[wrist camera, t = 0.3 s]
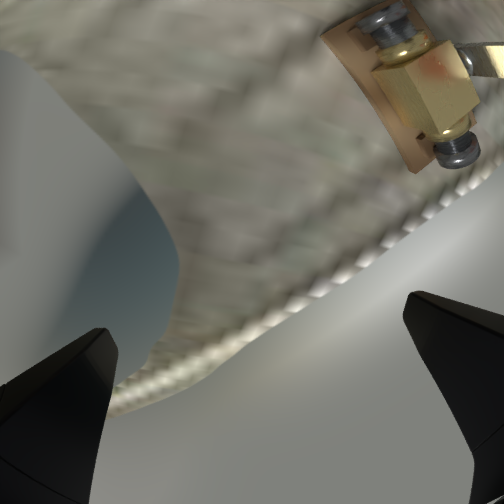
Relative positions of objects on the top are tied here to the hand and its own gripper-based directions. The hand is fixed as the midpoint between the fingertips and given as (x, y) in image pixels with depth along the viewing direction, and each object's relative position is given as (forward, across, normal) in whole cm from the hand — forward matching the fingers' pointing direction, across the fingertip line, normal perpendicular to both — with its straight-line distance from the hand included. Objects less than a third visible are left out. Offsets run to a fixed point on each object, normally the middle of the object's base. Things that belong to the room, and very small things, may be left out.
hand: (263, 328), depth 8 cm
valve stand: (+14, +14, +8) cm, 22 cm away
